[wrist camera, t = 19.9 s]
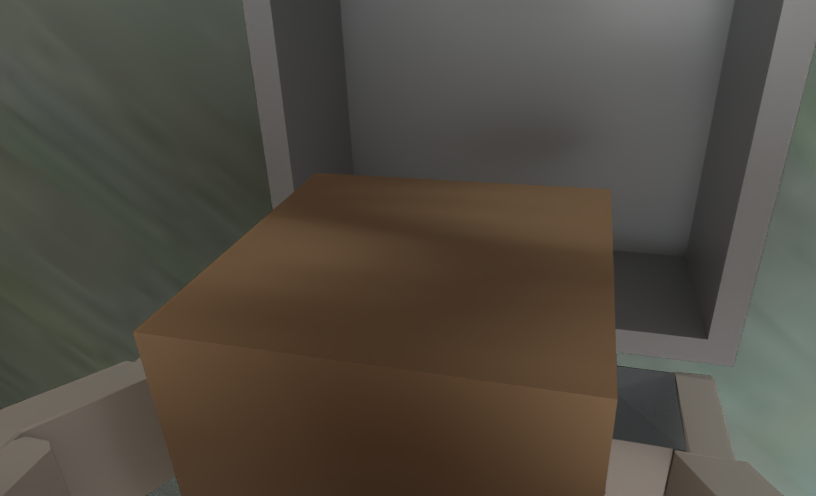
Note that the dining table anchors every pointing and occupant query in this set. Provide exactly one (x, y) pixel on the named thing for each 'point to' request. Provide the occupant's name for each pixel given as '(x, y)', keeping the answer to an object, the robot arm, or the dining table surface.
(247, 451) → the cube
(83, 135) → the dining table surface
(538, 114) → the tote
